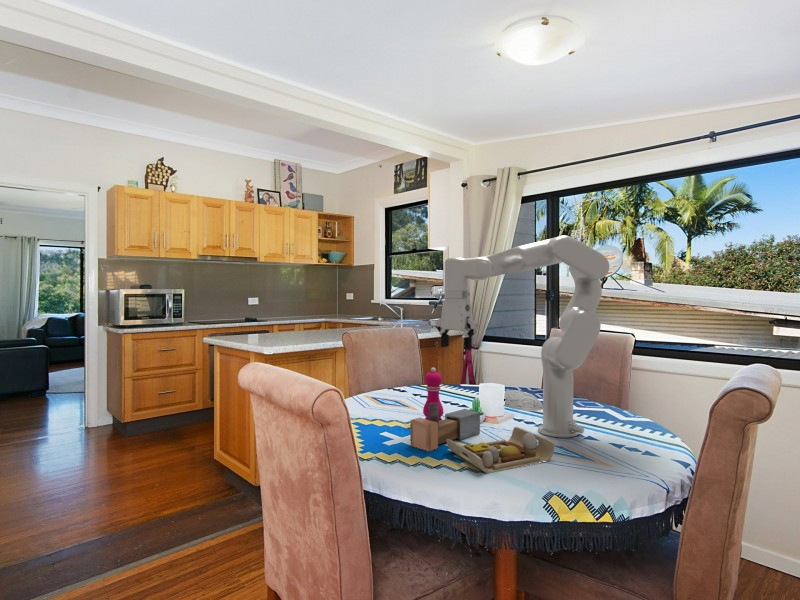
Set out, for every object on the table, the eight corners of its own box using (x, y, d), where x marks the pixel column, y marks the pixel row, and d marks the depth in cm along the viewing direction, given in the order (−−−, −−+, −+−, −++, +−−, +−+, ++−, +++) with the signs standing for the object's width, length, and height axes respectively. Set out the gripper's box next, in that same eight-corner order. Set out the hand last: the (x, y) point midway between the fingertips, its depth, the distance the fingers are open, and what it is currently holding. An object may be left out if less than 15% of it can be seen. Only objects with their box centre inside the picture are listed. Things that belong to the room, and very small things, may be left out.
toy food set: (515, 442, 148) (515, 418, 148) (556, 461, 131) (556, 434, 131) (444, 454, 138) (444, 428, 138) (479, 476, 121) (479, 447, 121)
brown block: (437, 448, 141) (437, 422, 141) (428, 451, 138) (428, 425, 138) (419, 442, 147) (419, 417, 147) (410, 445, 144) (410, 419, 144)
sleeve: (479, 433, 156) (479, 412, 156) (460, 440, 149) (460, 418, 149) (464, 429, 161) (464, 408, 160) (445, 435, 154) (445, 414, 154)
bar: (463, 436, 152) (463, 399, 152) (428, 448, 141) (428, 407, 141) (453, 433, 155) (453, 397, 155) (418, 444, 144) (418, 405, 144)
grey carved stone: (530, 412, 181) (531, 394, 182) (482, 403, 201) (483, 387, 202) (555, 410, 191) (555, 393, 191) (506, 402, 211) (507, 386, 211)
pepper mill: (442, 427, 163) (442, 369, 162) (421, 426, 164) (421, 368, 164) (444, 421, 170) (444, 366, 170) (424, 420, 171) (424, 365, 171)
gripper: (484, 295, 151) (484, 349, 151) (444, 295, 164) (443, 344, 164) (469, 296, 146) (469, 351, 146) (429, 295, 158) (428, 346, 159)
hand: (456, 348), depth 155 cm, fingers open, 9 cm apart
